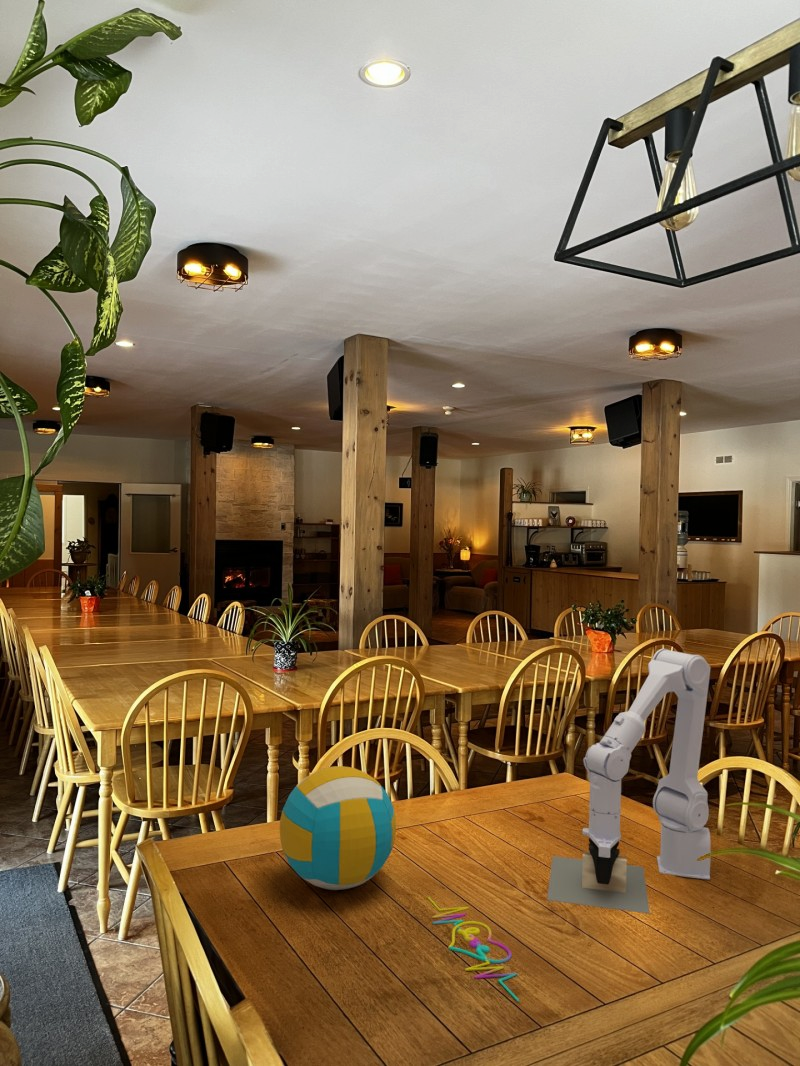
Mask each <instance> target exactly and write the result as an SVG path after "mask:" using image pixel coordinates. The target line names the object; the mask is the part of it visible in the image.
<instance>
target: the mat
mask: <svg viewBox="0 0 800 1066" xmlns="http://www.w3.org/2000/svg"><path fill="white" fill-rule="evenodd" d="M582 871H583V858H581V859H579V858H573V857H572V858H571V857H564V856H555V855H552V859H551V866H550V874H549V881H548V887H547V888H548V889H547V898H546V900H547V901H549V902H550V901H551V902H559V903H565V904H566V903H567V904H571V905H572V904H574V905H582V906H588V907H596V908H603V909H604V908H605V909H610V910H620V911H627V912H635V913H641V914H649V915H650V906H649V899H648V891H647V886H646V885H647V884H646V878H645V877H646V875H645V871H644V866H640V865H639V866H638V865H631V864H627V869H626V893H621V892H614V891H606V890H598V889H590V888H582Z"/></svg>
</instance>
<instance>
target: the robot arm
mask: <svg viewBox="0 0 800 1066" xmlns="http://www.w3.org/2000/svg"><path fill="white" fill-rule="evenodd" d="M647 665H648V666H647V667H648V668H647V669H648V670H647V671H648V676H647V677H646V678H645V681H644V683H643V685H642V686H641V688H640V690H639V692H638V694H637V696H636V697H635V699H634V700H633V702H632V704H631V706H630V707H629V709H628V710H627V711H624V712H619V713H618V715H616V717H615V718H614V720H613V722H612V724H611V725H610V726H609V728H608V729H607V731H606V732H605V734H604V735H603V737H602V738H601V740H600V741H599V742H597V743H595V744H592V745H591V746H590V747H589V748H588V749H587V751H586V754H585V757H583V766H584V767H585V769H586V771H587V779H588V780H589V802H588V803H589V807H588V808H589V809H588V810H589V814H588V827H583V828H582V835H583V836H587V837H588V842H589V843H588V853H590V854H591V856H592V858H593V862H594V866H595V873H596V879H597V883H599V884H607V885H608V884H609V882H610V878H611V874H612V869H613V865H614V863H615V861H616V859H617V857H618V856H620V853H621V852H620V848H618V847H619V845H620V840H621V838H622V834H621V833H622V832H621V804H622V801H621V799H622V779H623V778H624V777H625V776H626V775H627V774H628V771H629V768H630V761H631V758H632V753H633V750H634V749H635V747H637V744H638V743H639V742H640V740H641V738H642V737H643V735H644V734H645V733H646V725H645V721H646V720H647V718H648V717H649V716H650V714H652V712H653V711H654V710H655V708H656V707H657V706H658V705H659V703H660V702H661V701H662V699H663V698H664V697H665V696H666V694H668V693H672V692H674V693H675V695H676V696H677V705H676V707H677V708H676V715H675V716H676V717H675V723H674V730H673V738H672V739H673V740H672V749H671V756H670V765H669V773H668V774H667V775H666V776H664V777H662V778H660V779H659V780H658V783H657V784H658V785H657V788H656V791H655V793H654V796H653V798H652V808H653V811H654V813H655V814H656V815H657V816H658V821H659V822H660V853H659V855H658V856H656V860H657V866H658V867H657V868H658V872H659V873H660V874H664V875H673V876H675V877H676V876H677V877H683V878H690V879H691V878H692V879H699V880H700V879H701V880H711V876H710V875H711V857H710V858H707V859H704V860H701V861H697V859H698V858H700V857H701V856H704V855H706V854H708V853H710V854H711V833H710V832H711V831H710V829H709V828H708V827H704V826H706V823H707V822H708V819H709V815H710V814H709V813H710V809H709V808H710V807H709V804H708V796H709V794H708V791H707V790H706V789H705V787H704V786H703V784H701V782H700V781H699V778H698V775H699V767H700V759H701V750H702V744H703V742H702V740H703V732H704V726H705V725H704V724H705V716H706V709H707V701H708V700H707V699H708V691H709V685H710V675H711V666H710V665H709V663H708V662H707V661H706V658H704V657H703V656H701V655H699V654H691V653H690V654H689V653H686V652H680V651H674V650H670V649H668V648H661V649H658V650H657V651H656V652H655V653H654V655H653V656H652V659H651V660H650V661H649V662H648V664H647Z"/></svg>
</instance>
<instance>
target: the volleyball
mask: <svg viewBox="0 0 800 1066" xmlns="http://www.w3.org/2000/svg"><path fill="white" fill-rule="evenodd" d="M279 819H280V820H279V837H280V838H279V839H280V843H281V848H282V852H283V854H284V855H285V857H286V859H287V861H288V864H289V865H290V867H291V868H292V869H293V870H294V871H295V873H296V874H297V875H298V876H299V877H300V878H302V879H303V880H305V881H306V882H308V883H309V884H312V885H313V886H315V887H318V888H322V889H325V890H331V891H338V890H348V889H351V888H355V887H358V886H361V885H363V884H364V883H366V882H367V881H369V880H370V879H371V878H373V877H374V876H375V875H376V874H377V873H378V872H379V871H380V870H381V869H382V868H383V867H384V865H385V863H386V862H387V860H388V858H389V857H390V855H391V852H392V850H393V848H394V845H395V841H396V835H397V834H396V831H397V821H396V819H397V818H396V813H395V809H394V805H393V804H392V800H391V799H390V797H389V794H388V792H387V791H386V790H385V789H384V787H383V786H382V785H381V783H380V782H378V780H376V779H375V778H374V777H373V776H371V775H369V774H368V773H367V772H364V771H362V770H359V769H357V768H355V767H350V766H343V765H337V766H328V767H325V768H322V769H319V770H315V772H313V773H312V774H310V775H307V776H306V777H304V778H303V779H302V780H301V781H299V783H298V784H296V786H295V787H294V788H293V789H292V790H291V792H290V794H289V795H288V798H287V800H286V802H285V804H284V806H283V808H282V811H281V816H280V818H279Z"/></svg>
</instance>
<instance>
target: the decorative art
mask: <svg viewBox="0 0 800 1066" xmlns="http://www.w3.org/2000/svg"><path fill="white" fill-rule="evenodd" d="M427 900H428V901H429V902H430V904H432V905H433V906H434V908H436V909H437V910H438V911H439V912H444V913H439V914H435V915H432V916H431V919H440V920H436V921H432V922H431V924H432V925H441V924H453V925H454V927H453V929H452V931H451V943H450V944H449V946H448V950H450V951H453V952H458V953H462V954H465V955H467V956H468V957H469V956H470V957H472V958H475V959H476V960H479V961H483V963H481V964H476V965H472V966H470V967H467V968H464V971H465V972H470V971H471V972H472V971H485V972H483V973H479V974H476V975H474V976H473V979H475V980H476V979H489V978H499V979H497V981H498V983H500V985H501V986H502V987H503V988H504V989H505V990H506V991H507V992H508V993H509V994H510V995H511V997H512V998H513V999H515V1000H516V1002H517V1003H519V1002H520V999H519V998H518V997H517V996H516V995H515V993H513V992H512V990H511V989H509V988H508V986H507V985H506V984H505V983H504V982H503V981H506V980H508V979H513V977H516V976H518V973H517V972H512V973H498V974H493V973H495V972H498V971H500V970H503V969H504V966H503V965H502V966H489V965H490V964H504V963H507V962H509V961H510V960H511V958H512V957H513V956H512V955H513V954H512V951H511V950H510V949H509V948H508V947H507V946H506V945H504V943H500V942H499V941H496V940H493V939H492V936H493V935H492V930H491V928H490V927H489V925H487V924H485V923H484V922H480V921H474V920H472V921H470V920H468V921H464V920H463V919H459V918H463V917H466V916H467V914H466V913H458V912H462V911H465V910H468V909H470V907H469V906H461V907H450V908H440V907H439V906H438V905H437V904H436V903H435V902H434V901H433V900H432V898H431V897H430V896H427ZM445 911H446V912H445ZM454 913H456V914H454ZM467 925H468V926H469V925H475V926H476V925H478V926H480V927H482V928H483V927H484V928H485V929H486V930H487V932H488V937H487V939H486V940H487V942H488V943H490V944H492V945H496V946H497V947H500V948H501V949H503V950H505V951H506V953H507V955H508V956H507V957H505V958H502V959H501V958H500V959H492V958H488V956H487V955H486V954H487V953H488V954H489V953H490V951H491V950H490V947H489V946H488V945H485V944H482V942H481V941H480V940H479V938H478V937H476V936H478V935H480V934H481V931H480V928H478V927H475V926H470V927H468V928H465V929H462V928H461V927H463V926H467ZM456 934H458V935H461V936H462V938H464V941H465V942H467V943H469V947H470V948H472V949H476V950H475V953H473V952H471V951H468V950H466V949H462V948H459V947H454V945H455V942H456ZM485 966H486V967H485ZM487 970H488V971H487ZM500 977H501V978H500Z"/></svg>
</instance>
